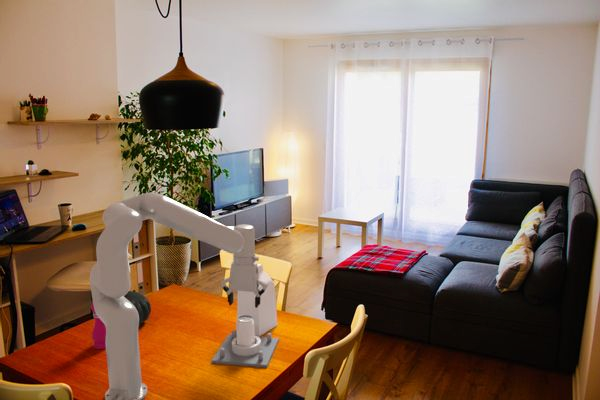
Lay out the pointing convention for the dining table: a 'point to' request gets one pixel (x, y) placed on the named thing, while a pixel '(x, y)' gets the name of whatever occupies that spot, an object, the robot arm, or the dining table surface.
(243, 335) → the can
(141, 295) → the squash
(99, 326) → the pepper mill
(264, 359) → the carrier plate
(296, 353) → the dining table surface
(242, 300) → the milk
